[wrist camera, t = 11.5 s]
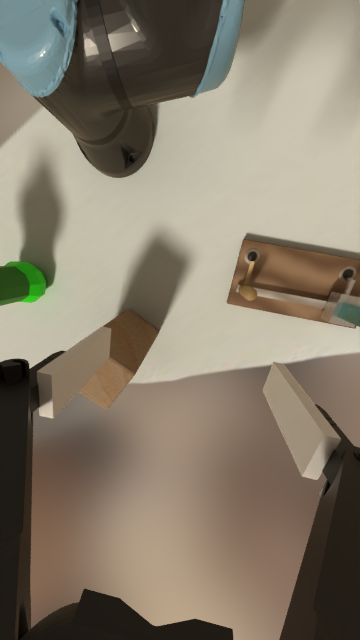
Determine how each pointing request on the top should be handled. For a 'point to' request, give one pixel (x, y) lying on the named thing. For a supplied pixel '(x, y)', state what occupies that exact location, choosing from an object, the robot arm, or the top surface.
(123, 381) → the wooden block
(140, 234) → the top surface
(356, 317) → the sliding lever
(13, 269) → the plastic bottle
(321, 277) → the hole plate
